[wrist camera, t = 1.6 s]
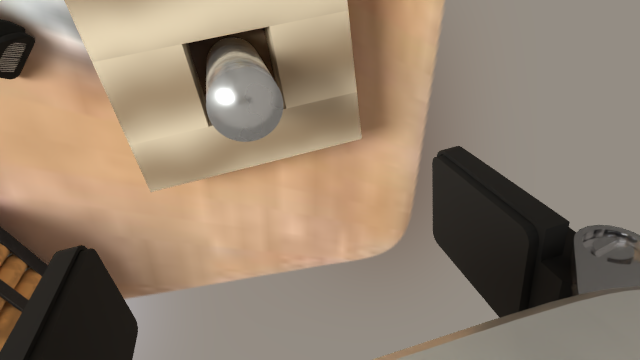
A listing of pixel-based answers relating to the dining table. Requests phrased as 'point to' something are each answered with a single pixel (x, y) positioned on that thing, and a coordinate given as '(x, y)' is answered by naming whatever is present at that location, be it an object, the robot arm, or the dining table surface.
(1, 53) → the electric trimmer
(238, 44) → the peg
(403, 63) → the dining table surface
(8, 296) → the ammunition clip
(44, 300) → the robot arm
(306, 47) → the dock board
